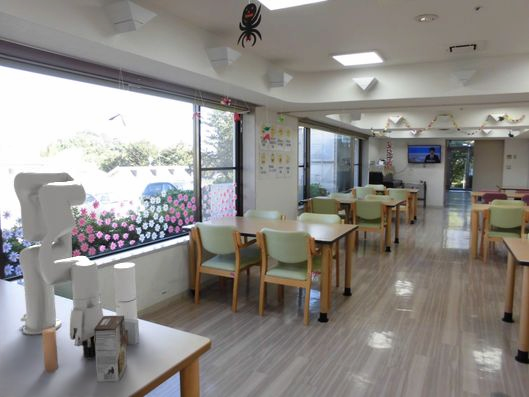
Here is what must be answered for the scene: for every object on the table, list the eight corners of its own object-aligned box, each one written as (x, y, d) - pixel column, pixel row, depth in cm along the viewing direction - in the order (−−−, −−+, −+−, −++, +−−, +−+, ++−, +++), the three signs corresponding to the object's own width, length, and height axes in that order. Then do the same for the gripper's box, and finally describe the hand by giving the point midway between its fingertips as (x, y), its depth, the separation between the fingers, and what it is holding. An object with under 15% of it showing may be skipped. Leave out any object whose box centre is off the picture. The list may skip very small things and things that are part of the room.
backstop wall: (96, 338, 140) (95, 317, 139) (100, 336, 142) (99, 314, 141) (135, 344, 135) (134, 322, 134) (139, 342, 137) (138, 320, 136)
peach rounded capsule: (41, 370, 120) (39, 332, 118) (51, 364, 123) (48, 327, 122) (51, 372, 119) (48, 334, 117) (60, 366, 122) (58, 329, 121)
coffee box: (106, 365, 122) (103, 315, 121) (127, 364, 123) (125, 314, 121) (96, 382, 113) (93, 328, 112) (119, 381, 114) (116, 327, 112)
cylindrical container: (131, 336, 141) (128, 268, 139) (113, 335, 143) (109, 267, 140) (141, 328, 148) (138, 263, 145) (124, 326, 150) (120, 262, 147)
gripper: (94, 291, 132) (97, 344, 134) (57, 308, 118) (62, 366, 120) (112, 294, 129) (115, 347, 131) (77, 311, 115) (81, 370, 117)
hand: (90, 356), depth 126 cm, fingers closed
